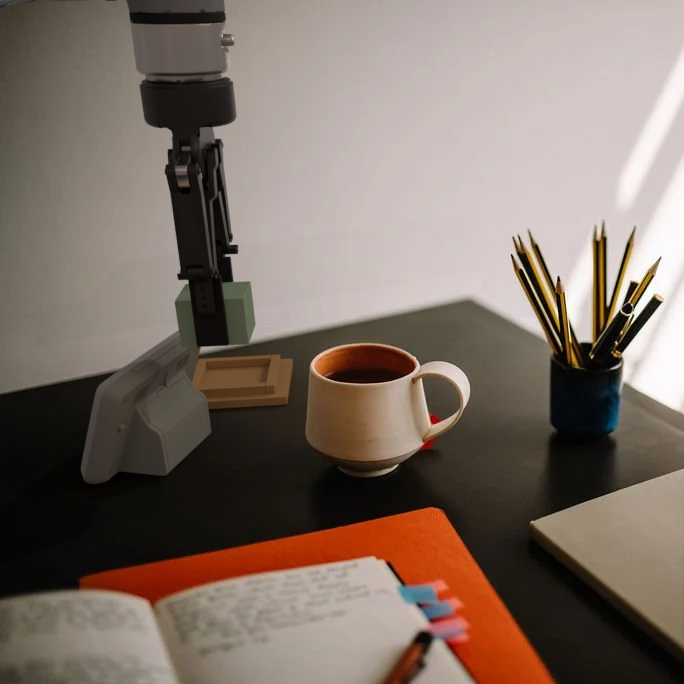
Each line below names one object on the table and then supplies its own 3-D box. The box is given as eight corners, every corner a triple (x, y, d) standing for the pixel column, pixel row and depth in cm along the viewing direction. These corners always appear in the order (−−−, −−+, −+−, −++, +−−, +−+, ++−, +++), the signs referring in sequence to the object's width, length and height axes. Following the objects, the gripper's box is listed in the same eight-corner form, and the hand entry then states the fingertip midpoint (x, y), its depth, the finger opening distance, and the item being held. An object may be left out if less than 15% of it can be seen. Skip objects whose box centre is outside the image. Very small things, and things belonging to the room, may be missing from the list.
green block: (181, 347, 82) (174, 301, 81) (191, 328, 87) (185, 283, 85) (248, 344, 83) (243, 298, 81) (255, 325, 88) (250, 280, 86)
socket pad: (174, 411, 98) (171, 395, 97) (190, 371, 108) (188, 355, 108) (287, 404, 100) (285, 388, 99) (293, 365, 110) (291, 350, 109)
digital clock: (175, 410, 99) (162, 318, 95) (243, 425, 95) (233, 331, 91) (55, 481, 85) (33, 377, 81) (130, 501, 81) (112, 394, 77)
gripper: (214, 88, 68) (246, 369, 77) (246, 66, 85) (269, 300, 94) (110, 89, 67) (155, 374, 76) (163, 66, 84) (194, 303, 93)
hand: (218, 332), depth 85 cm, fingers closed on green block, 5 cm apart
